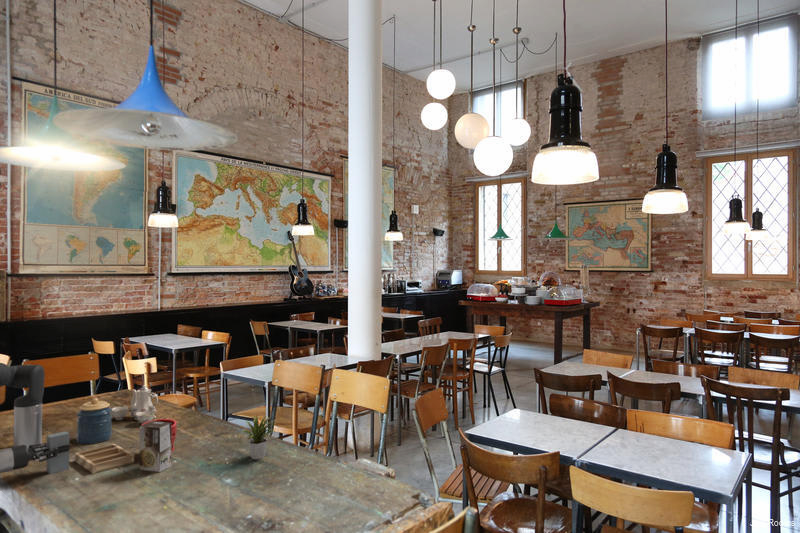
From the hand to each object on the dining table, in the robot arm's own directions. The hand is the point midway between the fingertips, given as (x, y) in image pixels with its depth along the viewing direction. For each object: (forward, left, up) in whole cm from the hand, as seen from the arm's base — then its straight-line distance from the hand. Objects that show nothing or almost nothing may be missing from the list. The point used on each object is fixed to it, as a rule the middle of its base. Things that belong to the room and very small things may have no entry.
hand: (66, 446), depth 187 cm
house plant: (+44, +51, -8) cm, 68 cm away
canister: (-26, +18, -8) cm, 33 cm away
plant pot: (+11, +28, -8) cm, 31 cm away
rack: (+4, +11, -8) cm, 14 cm away
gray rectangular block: (0, -3, -8) cm, 8 cm away
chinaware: (-41, +43, -8) cm, 60 cm away
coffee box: (+24, +21, -8) cm, 33 cm away
